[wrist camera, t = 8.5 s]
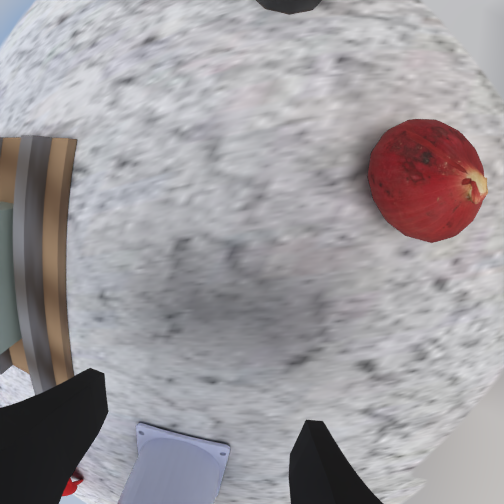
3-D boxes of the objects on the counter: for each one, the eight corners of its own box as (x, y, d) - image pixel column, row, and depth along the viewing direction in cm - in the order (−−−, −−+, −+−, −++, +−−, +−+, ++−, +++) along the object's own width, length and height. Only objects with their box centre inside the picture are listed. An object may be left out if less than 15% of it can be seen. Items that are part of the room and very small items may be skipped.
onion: (331, 189, 16) (384, 196, 9) (382, 111, 15) (455, 70, 7) (405, 246, 17) (483, 289, 9) (450, 171, 16) (539, 174, 8)
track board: (76, 388, 21) (59, 408, 18) (1, 350, 21) (-16, 363, 18) (77, 139, 16) (49, 135, 13) (-6, 138, 16) (-31, 137, 13)
